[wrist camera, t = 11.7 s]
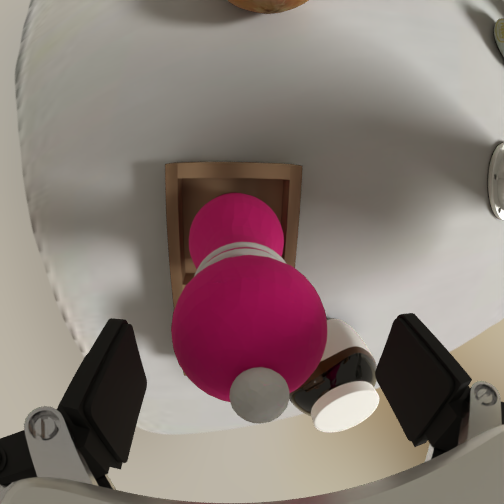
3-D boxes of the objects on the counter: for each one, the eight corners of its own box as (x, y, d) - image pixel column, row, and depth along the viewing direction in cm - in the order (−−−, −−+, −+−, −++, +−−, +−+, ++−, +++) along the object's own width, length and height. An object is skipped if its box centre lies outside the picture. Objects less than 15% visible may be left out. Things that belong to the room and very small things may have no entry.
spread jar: (332, 300, 31) (377, 367, 20) (371, 347, 34) (409, 406, 23) (254, 358, 32) (266, 435, 22) (303, 395, 36) (324, 458, 25)
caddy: (291, 164, 25) (302, 165, 21) (276, 352, 32) (281, 373, 29) (173, 162, 24) (165, 164, 20) (186, 354, 31) (183, 375, 28)
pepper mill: (186, 252, 26) (131, 450, 7) (206, 177, 23) (139, 271, 5) (259, 270, 27) (317, 466, 8) (283, 199, 25) (428, 330, 6)
